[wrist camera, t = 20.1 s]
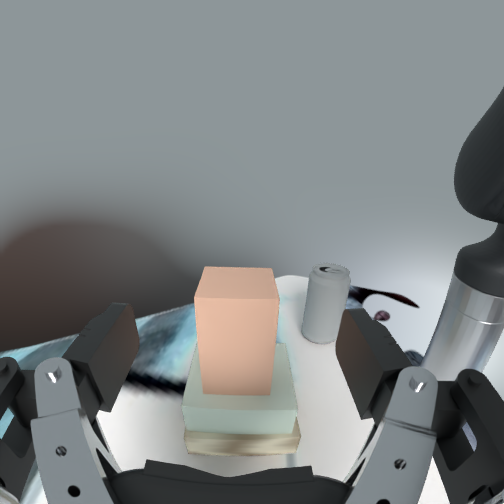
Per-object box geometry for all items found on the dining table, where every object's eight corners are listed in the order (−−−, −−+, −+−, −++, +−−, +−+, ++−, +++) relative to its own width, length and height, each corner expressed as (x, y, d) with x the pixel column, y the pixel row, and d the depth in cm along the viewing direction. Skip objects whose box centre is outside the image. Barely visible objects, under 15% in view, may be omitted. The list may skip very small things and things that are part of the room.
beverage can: (308, 321, 48) (316, 258, 44) (342, 330, 45) (355, 266, 41) (295, 340, 43) (304, 271, 39) (333, 350, 40) (348, 281, 36)
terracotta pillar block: (265, 355, 28) (271, 268, 25) (270, 395, 22) (279, 299, 19) (209, 353, 28) (205, 266, 25) (203, 393, 22) (194, 297, 19)
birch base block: (281, 387, 33) (284, 365, 32) (295, 455, 23) (300, 436, 22) (197, 387, 33) (194, 365, 31) (189, 456, 22) (183, 437, 21)
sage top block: (282, 368, 31) (285, 343, 30) (291, 433, 22) (297, 409, 21) (199, 366, 31) (197, 340, 30) (186, 430, 22) (181, 406, 20)
